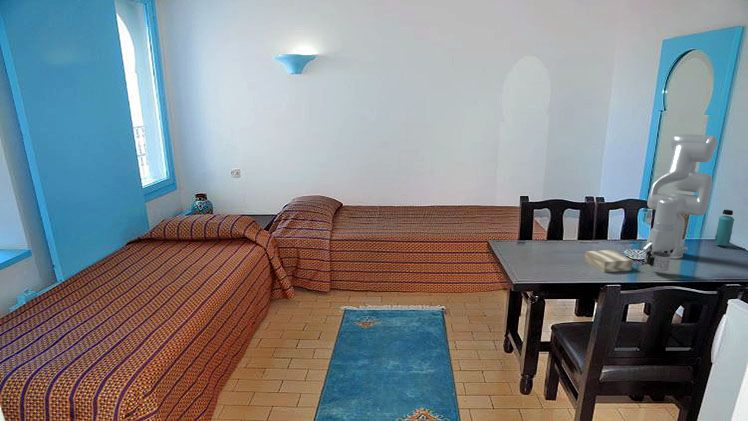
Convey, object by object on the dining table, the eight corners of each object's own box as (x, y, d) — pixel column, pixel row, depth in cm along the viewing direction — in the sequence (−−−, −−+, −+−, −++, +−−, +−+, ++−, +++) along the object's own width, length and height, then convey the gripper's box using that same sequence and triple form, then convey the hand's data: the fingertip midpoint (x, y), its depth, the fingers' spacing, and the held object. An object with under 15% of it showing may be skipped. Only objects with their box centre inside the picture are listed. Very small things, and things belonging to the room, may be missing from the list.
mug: (670, 268, 193) (673, 254, 191) (663, 272, 190) (666, 258, 188) (647, 261, 201) (649, 248, 199) (639, 264, 198) (642, 251, 196)
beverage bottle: (731, 248, 227) (740, 211, 222) (719, 248, 227) (727, 211, 222) (722, 244, 234) (730, 208, 228) (709, 244, 234) (717, 208, 229)
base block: (610, 259, 212) (611, 249, 211) (631, 270, 199) (632, 260, 198) (584, 261, 210) (585, 251, 209) (603, 272, 197) (605, 262, 196)
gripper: (673, 222, 195) (667, 259, 200) (639, 225, 192) (633, 262, 197) (688, 227, 188) (680, 265, 193) (652, 230, 185) (646, 269, 190)
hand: (657, 263), depth 195 cm, fingers closed on mug, 6 cm apart
